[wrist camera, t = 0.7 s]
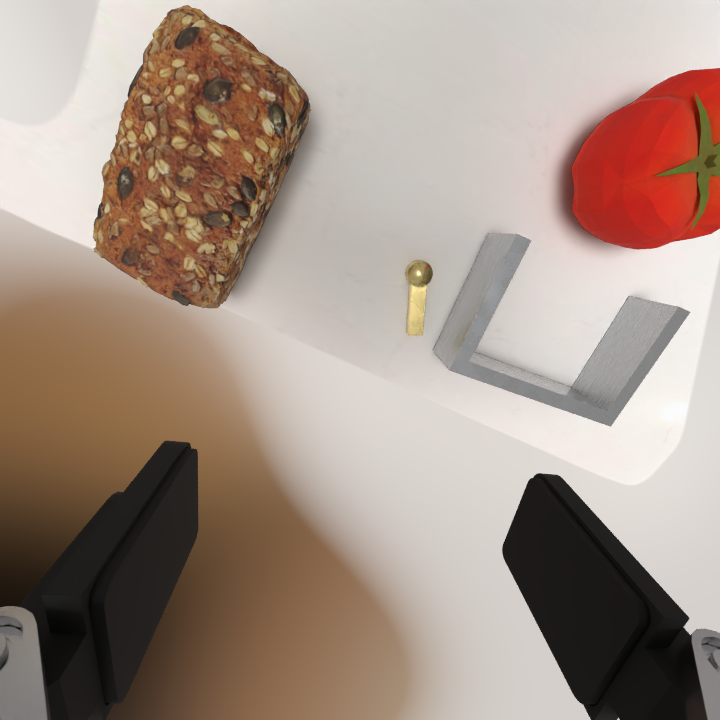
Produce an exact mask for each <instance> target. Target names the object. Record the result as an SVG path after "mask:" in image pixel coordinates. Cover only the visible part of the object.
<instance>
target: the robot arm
mask: <svg viewBox="0 0 720 720" xmlns="http://www.w3.org/2000/svg"><path fill="white" fill-rule="evenodd" d="M197 532H198V453H197V450H196V449H191V446H190V443H187V442H176V441H164V443H162V445H161V446H160V447H159V448H158V450H157V451H156V452H155V453H154V455H153V456H152V457H151V458H150V460H149V461H148V462H147V463H146V465H145V466H144V467H143V469H142V470H141V471H140V472H139V473H138V475H137V476H136V477H135V478H134V480H133V481H132V482H131V483H130V485H129V486H128V487H127V488H126V490H125V491H124V492H117V493H115V494H113V495H112V496H111V497H110V498H109V499H108V500H107V501H106V502H105V503H104V505H103V506H102V507H101V508H100V509H99V511H98V512H97V513H96V514H95V515H94V516H93V518H92V519H91V520H90V521H89V522H88V524H87V525H86V526H85V527H84V528H83V530H82V531H81V532H80V533H79V534H78V535H77V537H76V538H75V539H74V541H72V543H71V544H70V545H69V546H68V548H67V549H66V550H65V551H64V552H63V553H62V555H61V556H60V557H59V558H58V560H57V561H56V562H55V563H54V564H53V565H52V567H51V568H50V569H49V570H48V571H47V573H46V574H45V575H44V576H43V577H42V579H41V580H40V581H39V582H38V583H37V585H36V586H35V587H34V588H33V589H32V591H31V592H30V593H29V594H28V595H27V596H26V598H25V599H24V600H23V601H22V602H21V604H20V605H19V606H18V607H12V606H7V607H1V608H0V720H106V718H107V716H108V714H109V712H110V710H111V708H112V705H113V703H121V702H122V701H123V700H124V698H125V697H126V695H127V693H128V691H129V689H130V686H131V684H132V682H133V680H134V677H135V675H136V673H137V671H138V668H139V666H140V664H141V662H142V659H143V657H144V655H145V653H146V650H147V648H148V646H149V644H150V642H151V639H152V637H153V635H154V632H155V630H156V628H157V626H158V624H159V621H160V619H161V617H162V615H163V612H164V610H165V608H166V606H167V603H168V601H169V599H170V597H171V594H172V592H173V590H174V588H175V585H176V583H177V581H178V578H179V576H180V574H181V572H182V569H183V567H184V565H185V563H186V560H187V558H188V556H189V554H190V552H191V549H192V547H193V545H194V542H195V540H196V537H197ZM502 551H503V557H504V560H505V562H506V564H507V566H508V567H509V570H510V571H511V573H512V575H513V577H514V579H515V581H516V583H517V585H518V587H519V589H520V591H521V593H522V595H523V597H524V599H525V601H526V603H527V605H528V607H529V609H530V611H531V613H532V614H533V616H534V618H535V620H536V622H537V624H538V626H539V628H540V630H541V632H542V634H543V636H544V638H545V640H546V642H547V644H548V646H549V648H550V650H551V652H552V654H553V655H554V657H555V659H556V661H557V663H558V665H559V667H560V669H561V671H562V673H563V675H564V677H565V679H566V681H567V683H568V685H569V687H570V689H571V691H572V693H573V694H574V696H575V697H576V699H577V700H578V701H579V702H580V703H582V704H583V705H584V707H585V709H586V711H587V713H588V715H589V717H590V719H591V720H617V719H618V717H619V719H620V720H720V633H718V632H716V631H712V630H708V629H696V630H695V631H694V632H693V633H692V634H691V635H690V634H689V633H688V632H687V631H686V630H685V629H684V628H683V627H684V625H685V624H686V623H687V621H688V620H689V617H688V616H687V615H686V614H685V613H684V612H683V611H682V609H681V608H680V607H679V606H678V605H677V604H676V603H675V602H674V601H673V600H672V598H671V597H670V596H669V595H668V594H667V593H666V592H665V591H664V590H663V588H662V587H661V586H660V585H659V584H658V583H657V582H656V581H655V580H654V579H653V578H652V576H651V575H650V574H649V573H648V572H647V571H646V570H645V569H644V568H643V567H642V565H641V564H640V563H639V562H638V561H637V560H636V559H635V558H634V557H633V555H632V554H631V553H630V552H629V551H628V550H627V549H626V548H625V547H624V546H623V545H622V544H621V542H620V541H619V540H618V539H617V538H616V537H615V536H614V535H613V534H612V532H610V530H609V529H608V528H607V527H606V526H605V525H604V524H603V523H602V521H601V520H600V519H599V518H598V517H597V516H596V515H595V514H594V513H593V512H592V510H591V509H590V508H589V507H588V506H587V505H586V504H585V503H584V502H583V500H582V499H581V498H580V497H579V496H578V495H577V494H576V493H575V492H574V491H573V489H572V488H571V487H570V486H569V485H568V484H567V483H566V482H565V481H564V480H563V479H562V478H561V477H560V476H558V475H552V474H541V473H539V474H536V475H535V476H534V477H533V478H531V479H530V480H529V481H528V484H527V486H526V489H525V491H524V494H523V496H522V499H521V501H520V504H519V506H518V509H517V511H516V514H515V516H514V519H513V521H512V524H511V526H510V529H509V531H508V534H507V536H506V539H505V541H504V544H503V549H502Z"/></svg>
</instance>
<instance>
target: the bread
mask: <svg viewBox="0 0 720 720" xmlns="http://www.w3.org/2000/svg"><path fill="white" fill-rule="evenodd" d="M153 37H154V38H153V39H152V41H151V42H150V44H149V45H148V46H147V48H146V49H145V51H144V54H143V65H142V66H141V67H140V69H139V70H138V72H137V74H136V76H135V78H134V79H133V81H132V83H131V85H130V87H129V92H128V98H129V99H128V100H127V101H126V102H125V104H124V109H123V111H122V112H121V119H122V120H121V121H120V124H119V129H118V133H117V135H116V144H115V147H114V149H113V150H112V152H111V154H110V157H111V160H109V161H108V162H106V163H105V165H104V166H103V169H102V176H103V180H104V189H103V198H102V202H101V204H100V205H99V208H98V217H97V218H96V219H95V222H94V233H93V238H94V240H95V241H96V247H95V248H94V250H95V251H94V252H96V253H97V254H99V256H100V257H101V258H105V259H106V260H107V261H109V262H110V263H112V264H113V265H114V266H116V267H117V268H118V269H120V270H121V271H123V272H125V273H126V274H128V275H129V276H131V277H133V278H134V279H136V280H137V281H138V282H139V283H140V284H142V285H144V286H146V287H150V288H151V289H152V290H154V291H155V292H157V293H159V294H162V295H164V296H166V297H168V298H170V299H172V300H176V301H178V302H179V303H181V304H182V305H186V306H188V305H189V304H191V305H195V306H199V307H202V308H218V307H219V306H220V304H222V303H223V302H224V301H226V299H227V297H228V296H229V293H230V291H231V289H232V287H233V286H234V284H235V282H236V280H237V278H238V276H239V275H240V272H241V270H242V268H243V265H244V262H245V259H246V257H247V255H248V253H249V252H250V250H251V248H252V245H253V243H254V242H255V240H256V237H257V234H258V233H259V231H260V229H261V227H262V225H263V223H264V219H265V218H266V216H267V214H268V212H269V210H270V207H271V205H272V203H273V200H274V198H275V196H276V195H277V192H278V190H279V187H280V185H281V182H282V180H283V178H284V176H285V173H286V172H287V171H288V168H289V166H290V163H291V161H292V159H293V156H294V152H295V150H296V149H297V147H298V144H299V141H300V138H301V136H302V134H303V133H304V129H305V127H306V125H307V123H308V119H309V118H308V116H309V113H310V110H311V109H310V104H309V98H308V96H307V94H306V93H305V91H304V90H303V89H302V88H301V87H300V85H299V84H298V83H297V81H296V80H295V78H294V77H293V76H292V75H291V73H290V72H289V71H288V70H286V69H285V68H283V67H280V66H279V65H277V64H276V63H275V62H274V61H272V60H271V59H270V58H269V57H268V56H266V55H264V54H262V53H260V52H259V51H258V50H257V49H256V47H255V46H254V45H253V44H252V43H251V42H250V41H248V40H247V39H246V38H245V37H244V36H242V35H241V34H240V33H238V32H237V31H235V30H234V29H232V28H231V27H228V26H226V25H221V24H219V23H217V22H216V21H214V20H212V19H210V18H209V17H208V16H207V15H206V14H204V13H203V12H202V11H201V10H200V9H196V8H191V7H190V6H188V5H187V6H183V7H180V8H177V9H173V10H171V11H169V12H168V14H167V17H165V18H164V20H163V21H162V23H161V24H160V25H159V27H158V28H157V29H156V30H155V31H154V33H153Z"/></svg>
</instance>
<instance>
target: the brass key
mask: <svg viewBox="0 0 720 720" xmlns="http://www.w3.org/2000/svg"><path fill="white" fill-rule="evenodd" d="M432 275H433V272H432V268H431V266H430V265H429V264H428V263H426V262H423V261H414V262H412V263H411V264H410V265H409V266H408V267H407V270H406V278H407V280H408V282H409V283H410V287H409V302H408V317H407V332H406V333H407V334H408V335H423V325H424V313H425V301H426V289H427V284H428V283H429V282H430V281H431V279H432Z"/></svg>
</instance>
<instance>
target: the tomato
mask: <svg viewBox="0 0 720 720" xmlns="http://www.w3.org/2000/svg"><path fill="white" fill-rule="evenodd" d="M571 170H572V177H573V184H574V196H573V205H572V212H573V213H574V215H575V217H576V218H577V220H578V221H579V223H580V224H581V226H582V228H584V229H585V230H587V231H588V232H590V233H591V234H593V235H594V236H596V237H597V238H599V239H601V240H603V241H605V242H608V243H612V244H615V245H618V246H622V247H625V248H632V249H652V248H658V247H660V246H663V245H665V244H668V243H671V242H674V241H680V240H686V239H692V238H696V237H700V236H704V235H708V234H712V233H713V232H715V231H716V230H718V229H720V68H716V69H703V70H691V71H687V72H684V73H681V74H678V75H675V76H673V77H670V78H668V79H667V80H665V81H663V82H661V83H659V84H657V85H656V86H654V87H653V88H651V89H650V90H649V91H647V92H646V93H645V94H643V95H642V96H641V97H639V98H638V99H637V100H635V101H634V102H633V103H631V104H629V105H627V106H625V107H623V108H621V109H619V110H617V111H616V112H614V113H612V114H610V115H609V116H608V117H606V118H605V119H604V120H603V121H602V122H601V123H600V124H599V125H598V126H597V127H596V129H595V130H594V131H593V132H592V134H591V135H590V136H589V137H588V138H587V140H586V141H585V142H584V143H583V145H582V147H581V149H580V151H579V153H578V155H577V157H576V159H575V161H574V163H573V165H572V167H571Z"/></svg>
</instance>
